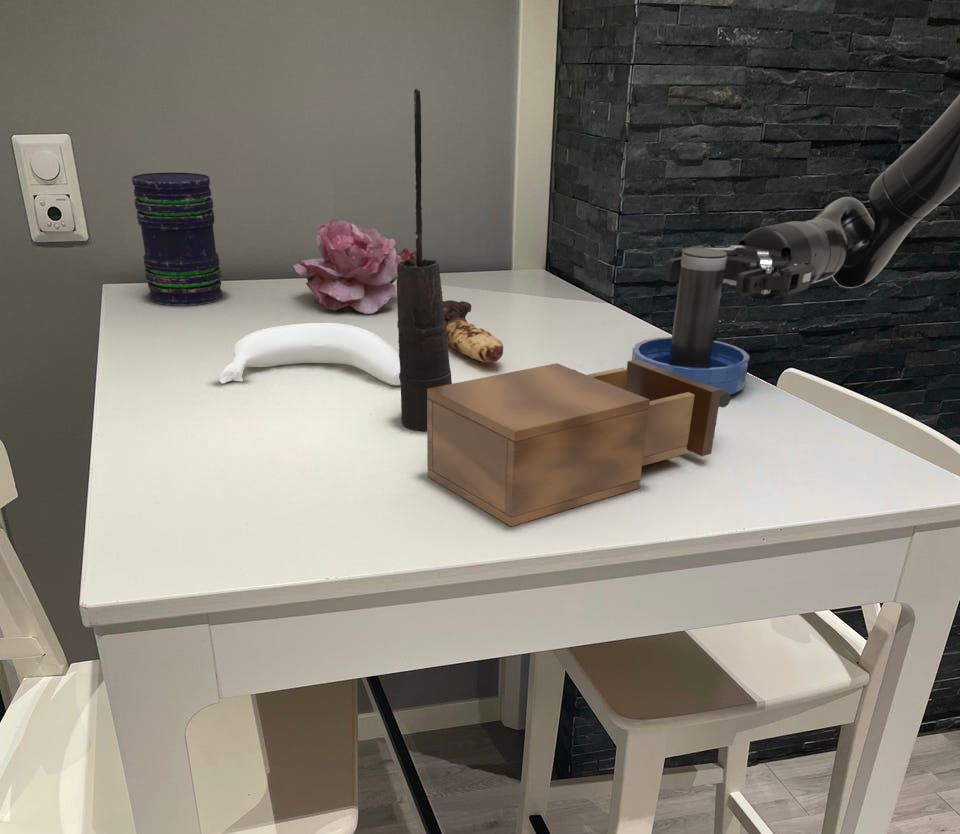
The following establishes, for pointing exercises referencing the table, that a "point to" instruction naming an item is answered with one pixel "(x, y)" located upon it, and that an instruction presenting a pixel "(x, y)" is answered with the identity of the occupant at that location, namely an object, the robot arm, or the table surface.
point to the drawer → (671, 409)
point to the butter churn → (420, 317)
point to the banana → (315, 350)
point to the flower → (352, 267)
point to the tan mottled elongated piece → (469, 334)
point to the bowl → (722, 373)
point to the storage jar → (178, 237)
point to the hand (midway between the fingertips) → (703, 278)
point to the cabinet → (535, 441)
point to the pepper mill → (697, 307)
